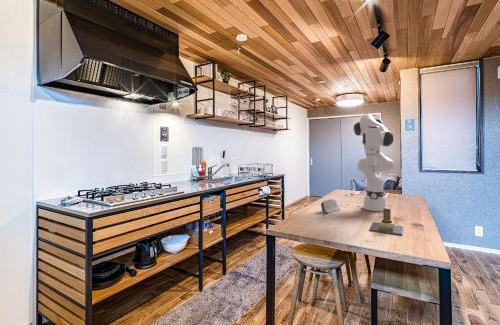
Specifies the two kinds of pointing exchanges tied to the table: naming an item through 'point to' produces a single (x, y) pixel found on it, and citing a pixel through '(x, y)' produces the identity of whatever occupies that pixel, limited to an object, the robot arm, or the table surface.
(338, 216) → the table surface
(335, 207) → the hinge
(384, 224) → the peg socket base
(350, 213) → the table surface
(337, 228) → the table surface
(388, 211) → the rail post
